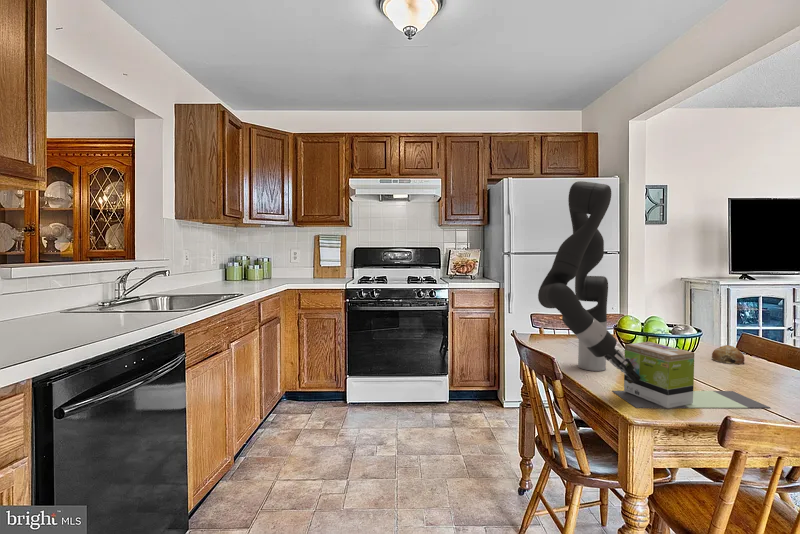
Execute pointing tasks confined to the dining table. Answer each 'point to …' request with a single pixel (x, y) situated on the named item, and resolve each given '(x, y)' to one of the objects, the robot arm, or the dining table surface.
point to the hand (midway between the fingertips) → (636, 379)
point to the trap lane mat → (699, 400)
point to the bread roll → (728, 355)
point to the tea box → (661, 374)
